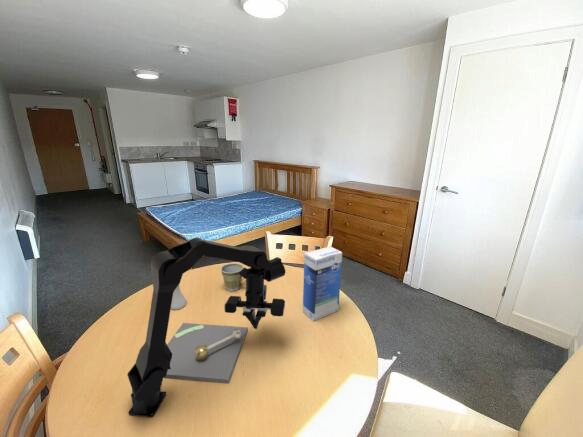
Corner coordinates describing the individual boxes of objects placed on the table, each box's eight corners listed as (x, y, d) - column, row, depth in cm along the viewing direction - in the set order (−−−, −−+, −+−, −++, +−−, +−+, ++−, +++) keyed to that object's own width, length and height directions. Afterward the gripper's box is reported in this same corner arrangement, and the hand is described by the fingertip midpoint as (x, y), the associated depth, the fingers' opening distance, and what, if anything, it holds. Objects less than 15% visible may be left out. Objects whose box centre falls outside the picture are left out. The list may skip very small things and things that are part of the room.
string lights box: (327, 302, 113) (330, 245, 106) (339, 311, 107) (343, 252, 100) (301, 311, 106) (303, 252, 99) (313, 322, 100) (316, 259, 93)
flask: (180, 311, 105) (177, 289, 102) (164, 309, 106) (161, 287, 104) (190, 301, 112) (188, 280, 109) (175, 299, 113) (172, 278, 110)
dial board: (228, 383, 74) (228, 379, 74) (147, 375, 76) (146, 372, 75) (247, 330, 95) (247, 326, 95) (183, 325, 97) (183, 322, 97)
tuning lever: (198, 362, 79) (197, 355, 78) (194, 355, 81) (193, 348, 80) (243, 340, 88) (242, 333, 87) (237, 334, 91) (237, 327, 90)
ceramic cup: (217, 290, 120) (216, 271, 117) (229, 280, 129) (228, 261, 127) (243, 295, 116) (243, 275, 114) (253, 284, 126) (252, 265, 123)
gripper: (286, 275, 90) (286, 314, 94) (233, 272, 92) (235, 311, 96) (283, 292, 79) (282, 336, 84) (222, 289, 81) (225, 332, 85)
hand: (255, 327), depth 87 cm, fingers closed
